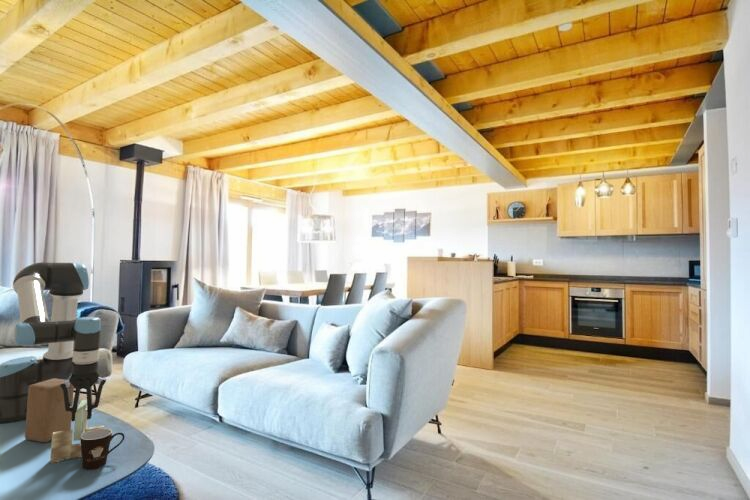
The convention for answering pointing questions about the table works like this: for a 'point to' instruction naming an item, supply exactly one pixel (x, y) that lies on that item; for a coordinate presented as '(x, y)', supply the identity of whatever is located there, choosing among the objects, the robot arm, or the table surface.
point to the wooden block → (47, 410)
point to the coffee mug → (96, 447)
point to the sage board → (79, 420)
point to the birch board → (66, 445)
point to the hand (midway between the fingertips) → (80, 429)
